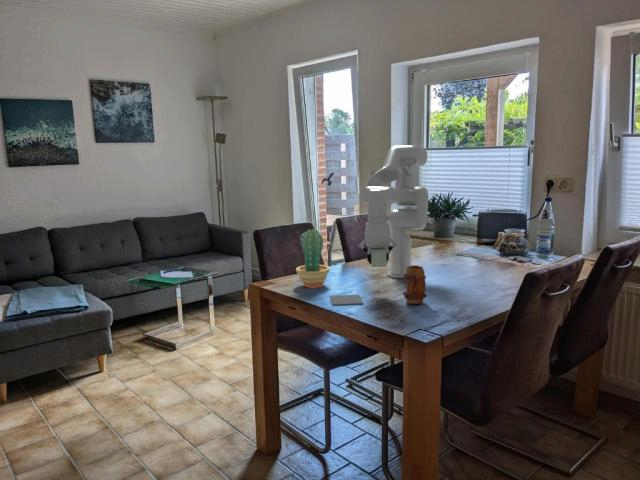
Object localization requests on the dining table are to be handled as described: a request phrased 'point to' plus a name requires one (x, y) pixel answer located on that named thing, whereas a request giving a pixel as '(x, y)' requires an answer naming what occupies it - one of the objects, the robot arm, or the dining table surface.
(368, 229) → the robot arm
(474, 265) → the dining table surface
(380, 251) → the tea tin
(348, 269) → the dining table surface
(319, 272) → the potted cactus
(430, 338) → the dining table surface
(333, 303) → the slate coaster
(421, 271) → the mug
